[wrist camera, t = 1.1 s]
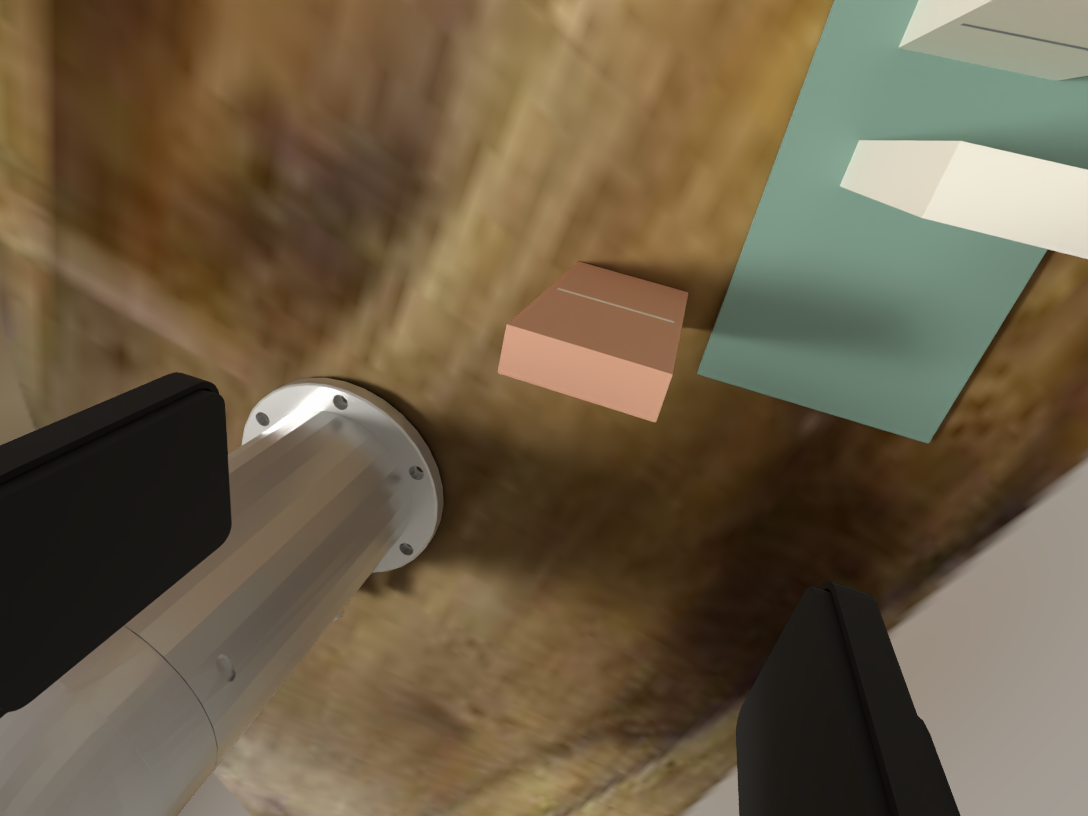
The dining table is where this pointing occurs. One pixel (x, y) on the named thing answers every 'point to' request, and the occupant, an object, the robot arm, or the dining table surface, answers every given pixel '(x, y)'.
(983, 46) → the domino
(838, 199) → the felt mat
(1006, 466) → the dining table surface
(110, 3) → the dining table surface
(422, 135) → the dining table surface
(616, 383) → the salmon pink domino
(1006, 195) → the domino
